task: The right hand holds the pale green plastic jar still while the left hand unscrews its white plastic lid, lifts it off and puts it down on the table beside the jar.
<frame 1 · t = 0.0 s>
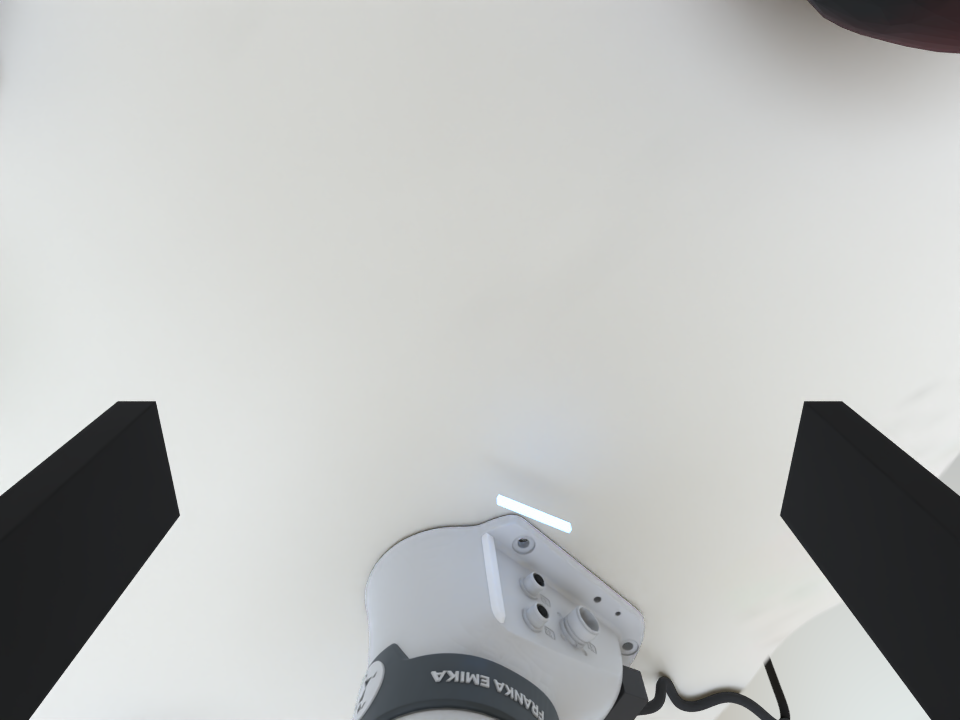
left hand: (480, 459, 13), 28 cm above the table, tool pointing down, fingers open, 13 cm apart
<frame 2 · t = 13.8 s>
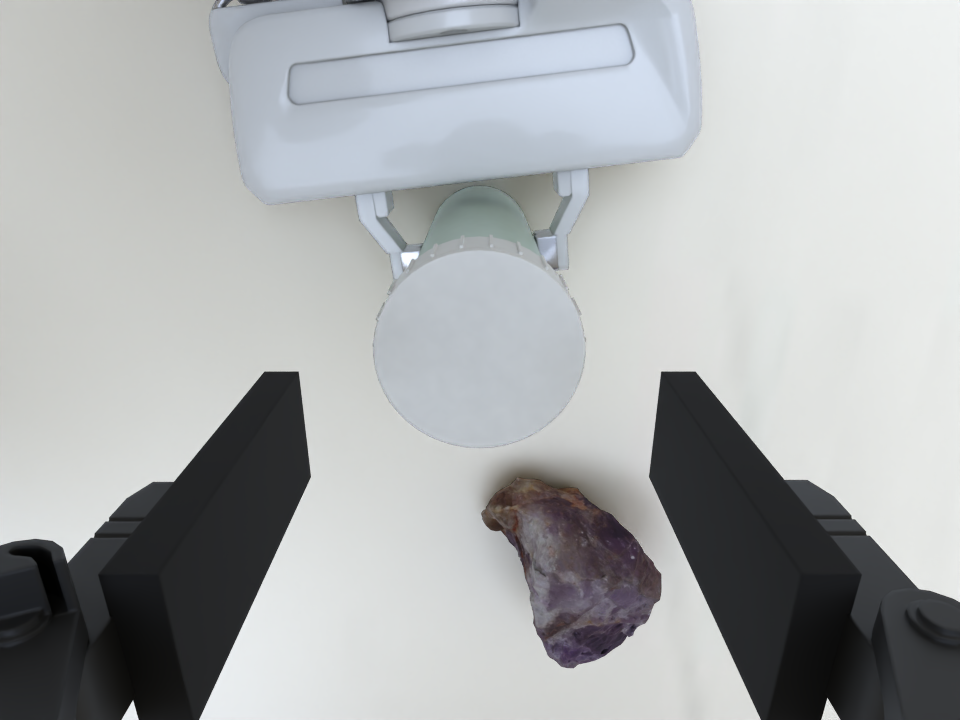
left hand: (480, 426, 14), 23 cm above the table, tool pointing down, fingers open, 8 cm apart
right hand: (482, 276, 31), fingers closed on jar, 5 cm apart
rock: (565, 525, 44), on the table
jar: (479, 235, 36), on the table, touching right hand
lid: (479, 351, 19), point 19 cm above the table, screwed on, not yet turned
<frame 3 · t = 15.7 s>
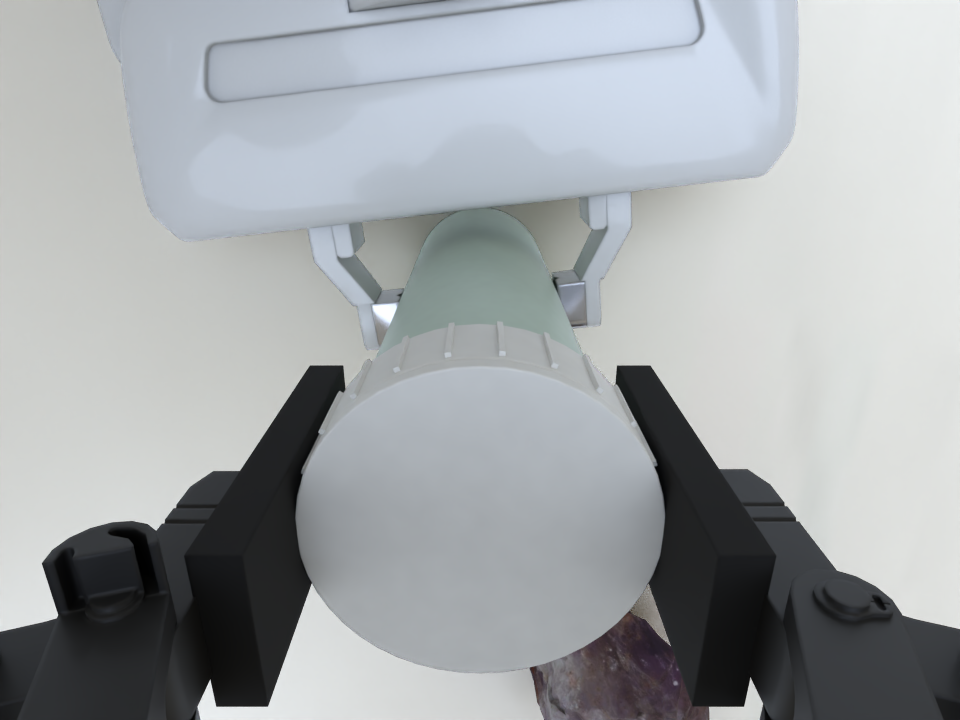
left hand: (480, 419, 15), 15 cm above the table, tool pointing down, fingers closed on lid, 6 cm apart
right hand: (484, 333, 23), fingers closed on jar, 5 cm apart
rock: (584, 617, 36), on the table
jar: (480, 269, 28), on the table, touching right hand
lid: (480, 524, 11), point 19 cm above the table, screwed on, not yet turned, touching left hand
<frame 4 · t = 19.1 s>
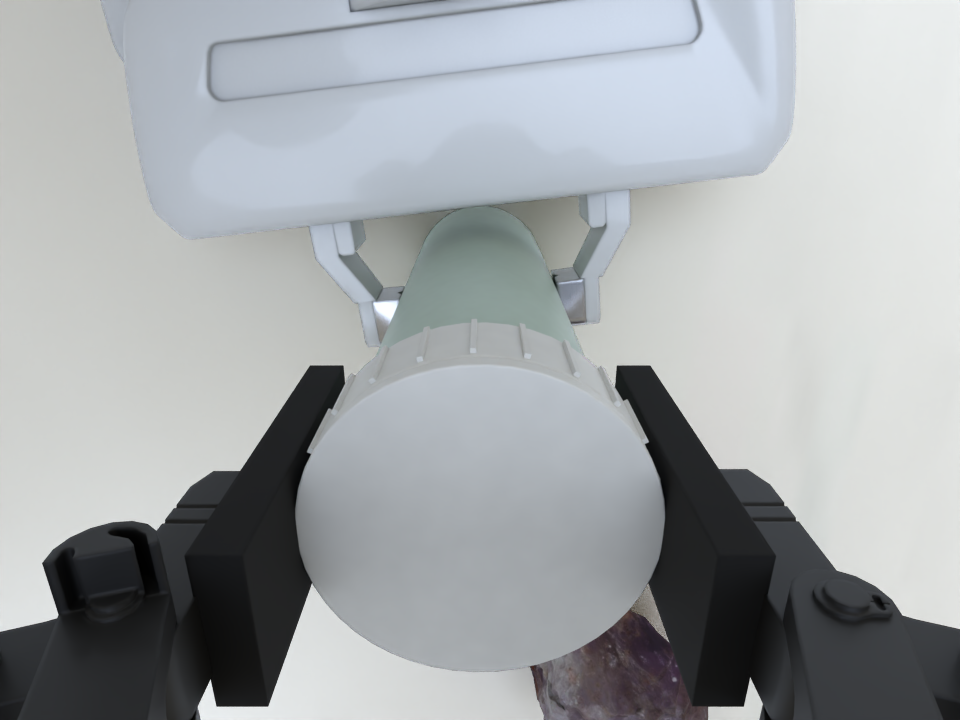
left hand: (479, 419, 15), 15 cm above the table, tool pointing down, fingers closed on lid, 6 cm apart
right hand: (484, 330, 23), fingers closed on jar, 5 cm apart
rock: (584, 614, 36), on the table
jar: (480, 267, 28), on the table, touching right hand
lid: (480, 523, 11), point 19 cm above the table, turned 118° so far, risen 0.2 cm, still on its thread, touching left hand
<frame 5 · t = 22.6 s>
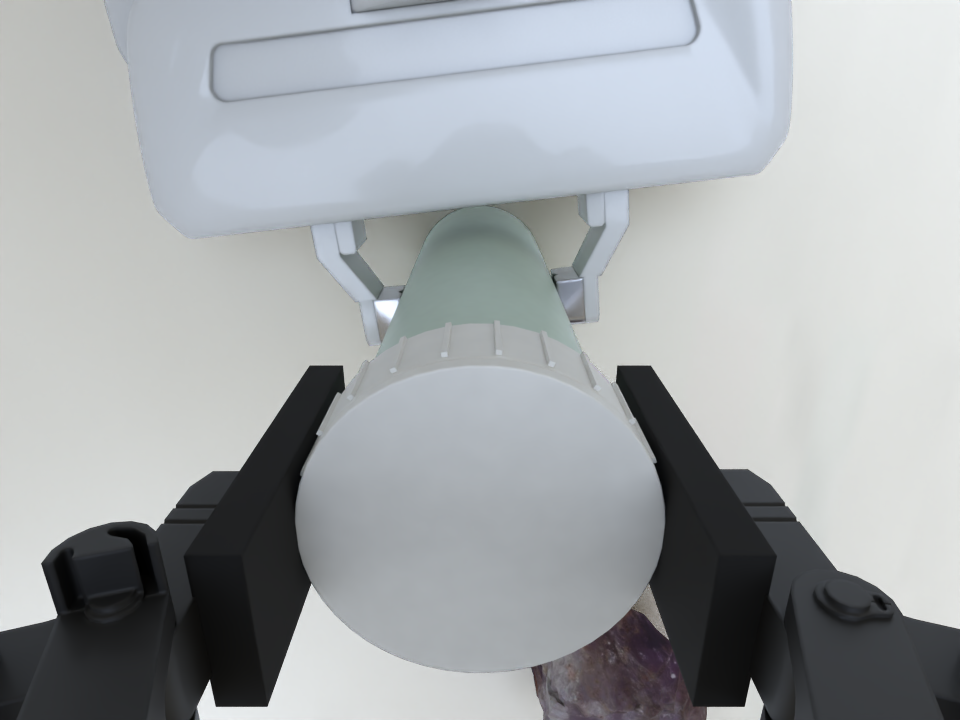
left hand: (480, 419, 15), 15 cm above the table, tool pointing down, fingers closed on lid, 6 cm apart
right hand: (484, 329, 23), fingers closed on jar, 5 cm apart
rock: (583, 612, 36), on the table
jar: (480, 267, 29), on the table, touching right hand
lid: (480, 524, 11), point 19 cm above the table, turned 236° so far, risen 0.4 cm, still on its thread, touching left hand
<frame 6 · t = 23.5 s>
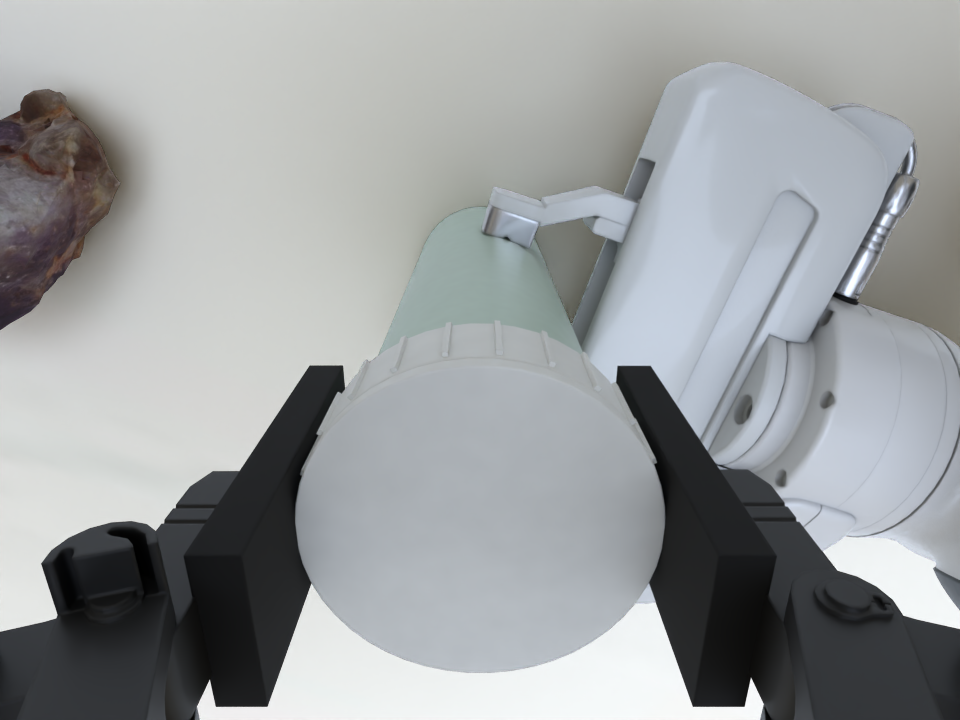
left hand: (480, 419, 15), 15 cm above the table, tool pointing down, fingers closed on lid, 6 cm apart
rock: (9, 205, 28), on the table
jar: (481, 267, 29), on the table, touching right hand
lid: (480, 523, 11), point 19 cm above the table, off its thread, touching left hand
when the left hand's fingers open (0 cm above the table, at t = 29.5 s): lid drops 2 cm, point 2 cm above the table.
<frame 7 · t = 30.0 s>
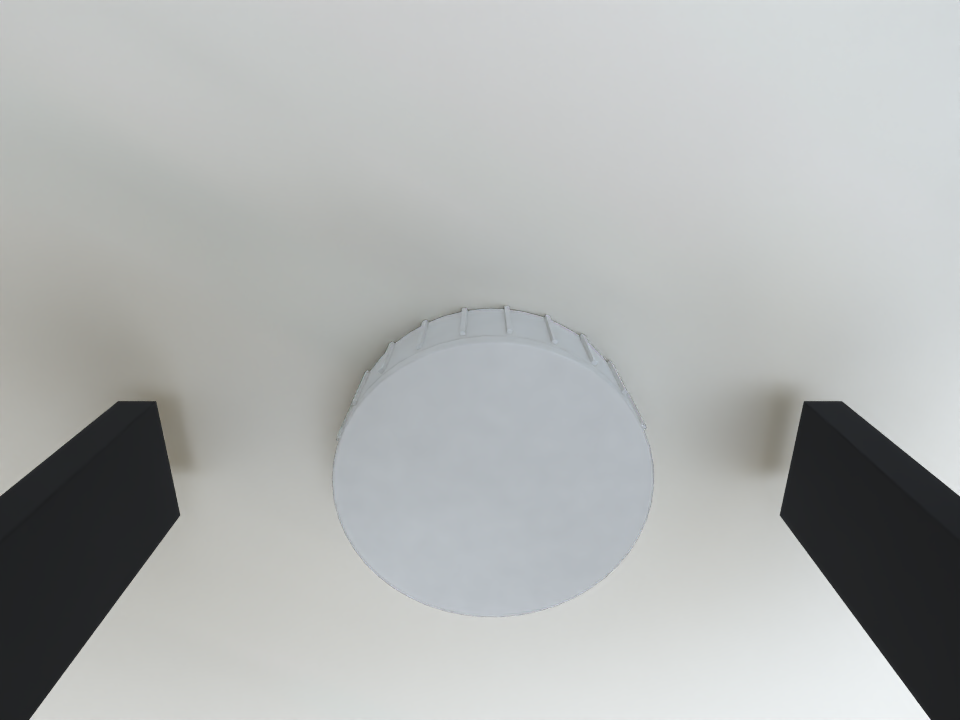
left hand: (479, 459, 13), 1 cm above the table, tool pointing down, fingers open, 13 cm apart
lid: (492, 483, 13), point 2 cm above the table, off its thread
when the right hand's fingers open (6 cm above the table, at t = 30.7 s): jar stays where it is, on the table.
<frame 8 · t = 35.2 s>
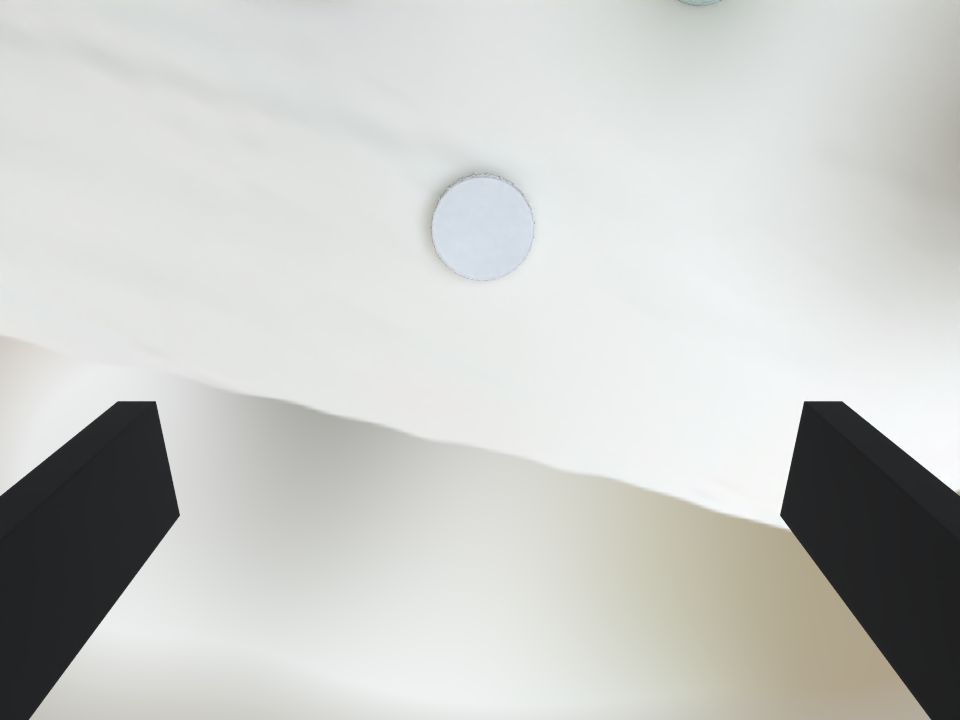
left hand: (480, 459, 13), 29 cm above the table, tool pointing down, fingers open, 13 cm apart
lid: (482, 229, 39), point 2 cm above the table, off its thread
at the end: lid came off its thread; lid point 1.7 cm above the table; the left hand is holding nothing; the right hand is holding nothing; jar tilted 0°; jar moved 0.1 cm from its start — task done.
